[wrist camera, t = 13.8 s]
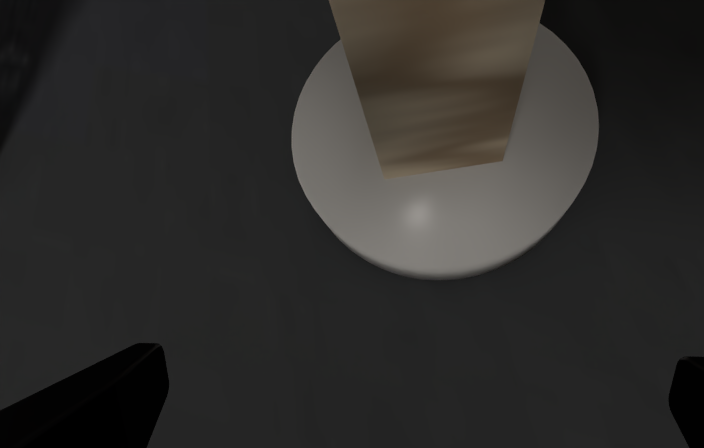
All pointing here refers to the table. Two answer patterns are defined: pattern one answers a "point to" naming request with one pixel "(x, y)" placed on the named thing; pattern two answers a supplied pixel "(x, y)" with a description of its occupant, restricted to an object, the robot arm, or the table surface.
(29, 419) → the robot arm
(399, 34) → the maple block
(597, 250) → the table surface
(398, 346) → the table surface
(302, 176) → the white round disc
